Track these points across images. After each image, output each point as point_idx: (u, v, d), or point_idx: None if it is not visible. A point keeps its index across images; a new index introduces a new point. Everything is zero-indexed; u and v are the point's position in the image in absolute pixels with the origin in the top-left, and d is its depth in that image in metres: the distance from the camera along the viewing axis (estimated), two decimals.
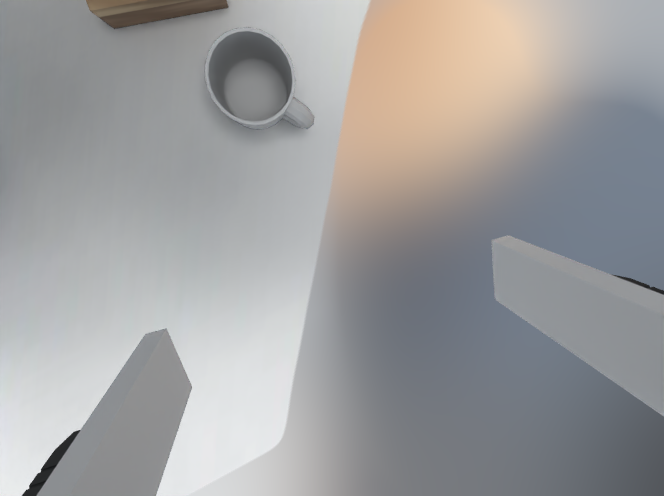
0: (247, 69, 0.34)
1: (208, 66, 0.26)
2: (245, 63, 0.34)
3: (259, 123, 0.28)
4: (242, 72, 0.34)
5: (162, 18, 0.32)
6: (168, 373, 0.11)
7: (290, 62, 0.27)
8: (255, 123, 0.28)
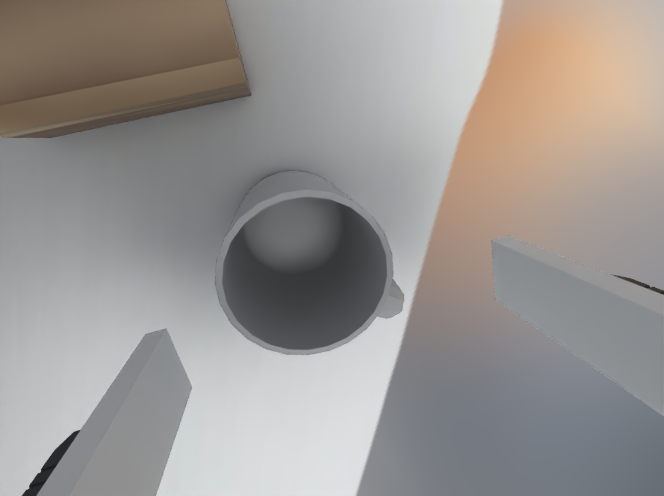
0: None
1: (222, 265, 0.13)
2: None
3: (319, 350, 0.15)
4: None
5: (136, 118, 0.18)
6: (168, 373, 0.11)
7: (386, 245, 0.14)
8: (312, 352, 0.15)
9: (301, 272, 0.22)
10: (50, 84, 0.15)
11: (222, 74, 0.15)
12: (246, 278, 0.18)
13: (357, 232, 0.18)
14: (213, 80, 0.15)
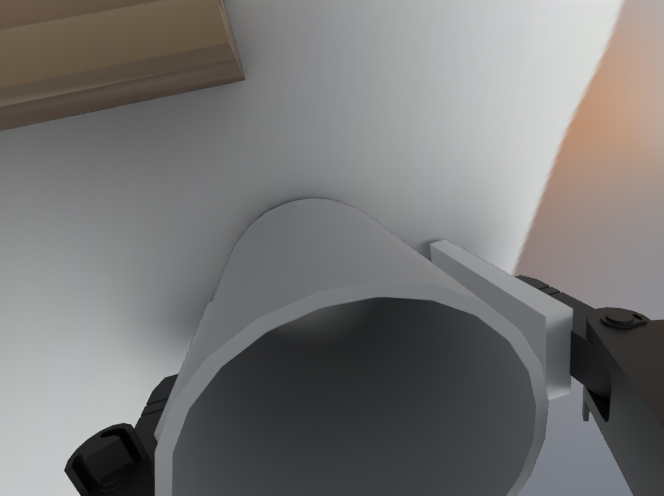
0: None
1: None
2: None
3: None
4: None
5: (53, 118, 0.11)
6: None
7: (539, 387, 0.06)
8: None
9: (323, 347, 0.15)
10: None
11: (182, 25, 0.07)
12: (238, 389, 0.10)
13: (424, 304, 0.11)
14: (164, 37, 0.07)
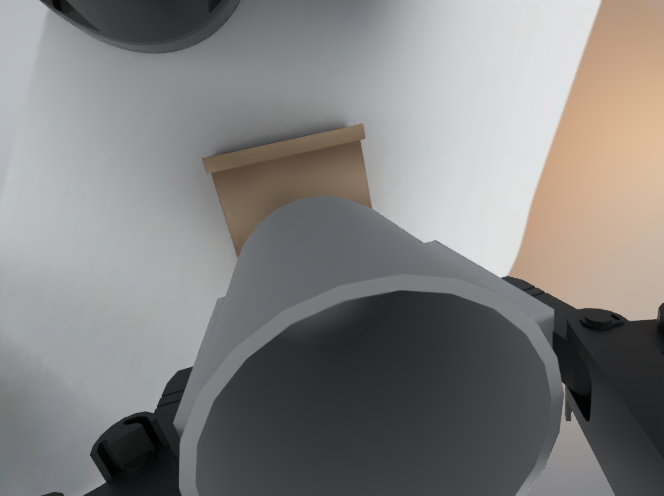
0: None
1: None
2: None
3: None
4: None
5: None
6: None
7: (555, 380, 0.06)
8: None
9: (331, 344, 0.15)
10: None
11: None
12: (250, 384, 0.10)
13: (434, 300, 0.11)
14: None
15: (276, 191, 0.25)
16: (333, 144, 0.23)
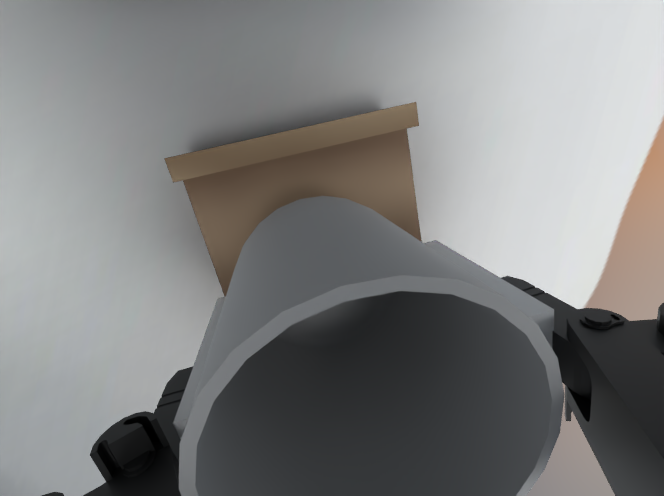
0: None
1: None
2: None
3: None
4: None
5: None
6: None
7: (555, 381, 0.06)
8: None
9: (331, 344, 0.15)
10: None
11: None
12: (250, 385, 0.10)
13: (434, 301, 0.11)
14: None
15: (281, 205, 0.17)
16: (370, 134, 0.15)
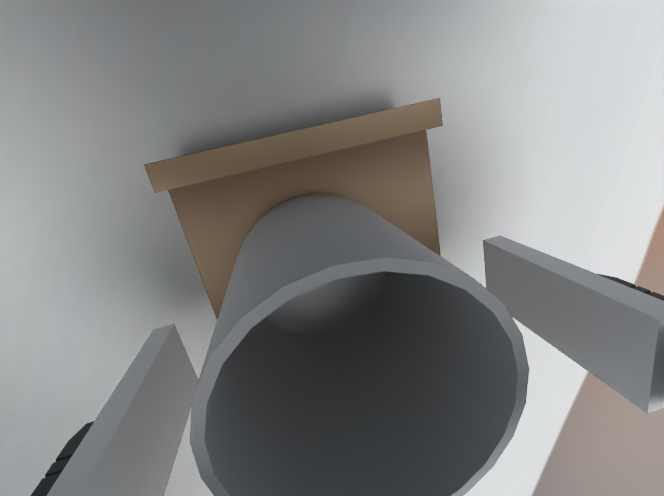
0: None
1: (205, 405, 0.06)
2: None
3: None
4: None
5: None
6: (176, 367, 0.12)
7: (520, 355, 0.07)
8: None
9: (326, 334, 0.16)
10: None
11: None
12: (250, 367, 0.11)
13: (421, 292, 0.12)
14: None
15: None
16: (386, 136, 0.13)
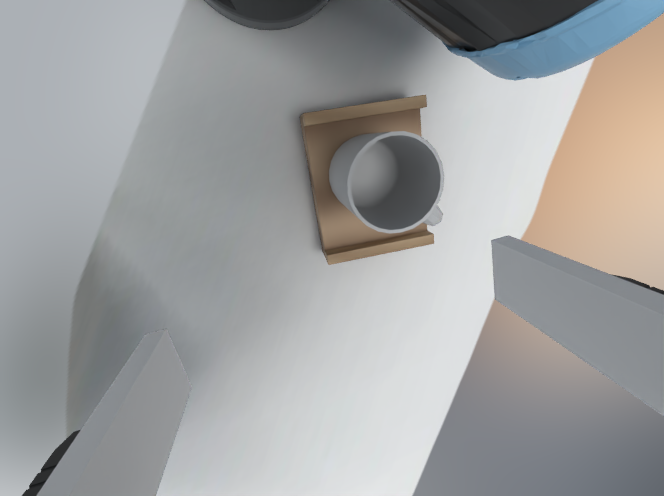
0: None
1: (352, 170, 0.23)
2: None
3: (396, 231, 0.25)
4: None
5: None
6: (168, 373, 0.11)
7: (441, 169, 0.24)
8: (391, 231, 0.25)
9: (366, 207, 0.33)
10: (349, 239, 0.34)
11: (425, 240, 0.34)
12: None
13: (413, 174, 0.29)
14: (421, 242, 0.34)
15: None
16: (402, 109, 0.29)
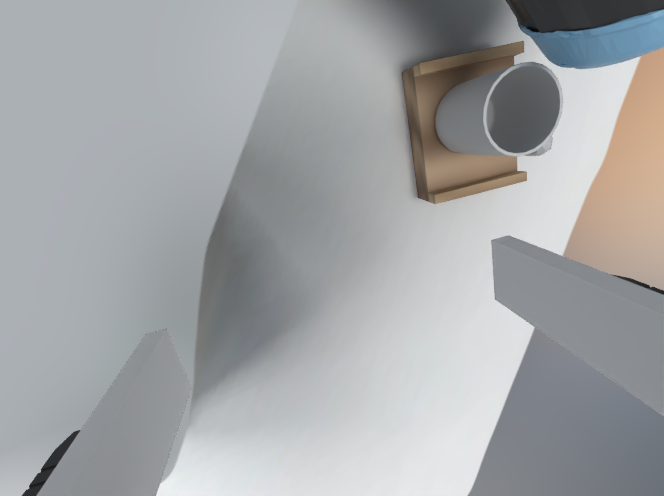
0: None
1: (487, 99, 0.27)
2: None
3: (520, 154, 0.28)
4: None
5: None
6: (168, 373, 0.11)
7: (561, 95, 0.27)
8: (517, 154, 0.28)
9: None
10: (449, 181, 0.37)
11: (519, 178, 0.37)
12: None
13: (518, 111, 0.32)
14: (515, 180, 0.37)
15: None
16: (502, 55, 0.33)
